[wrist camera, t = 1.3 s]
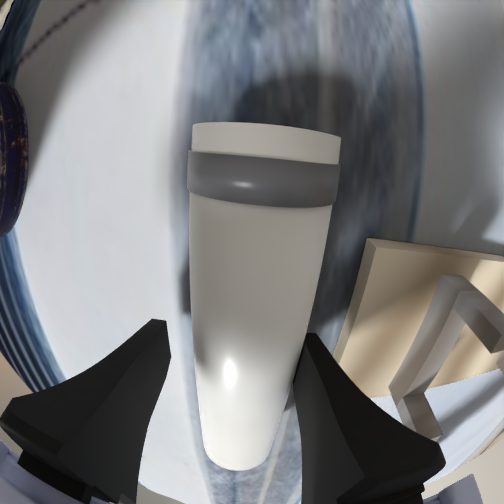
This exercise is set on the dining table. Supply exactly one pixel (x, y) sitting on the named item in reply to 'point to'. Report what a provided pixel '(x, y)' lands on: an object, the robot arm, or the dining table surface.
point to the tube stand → (422, 324)
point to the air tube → (253, 273)
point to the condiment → (4, 10)
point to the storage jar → (12, 156)
